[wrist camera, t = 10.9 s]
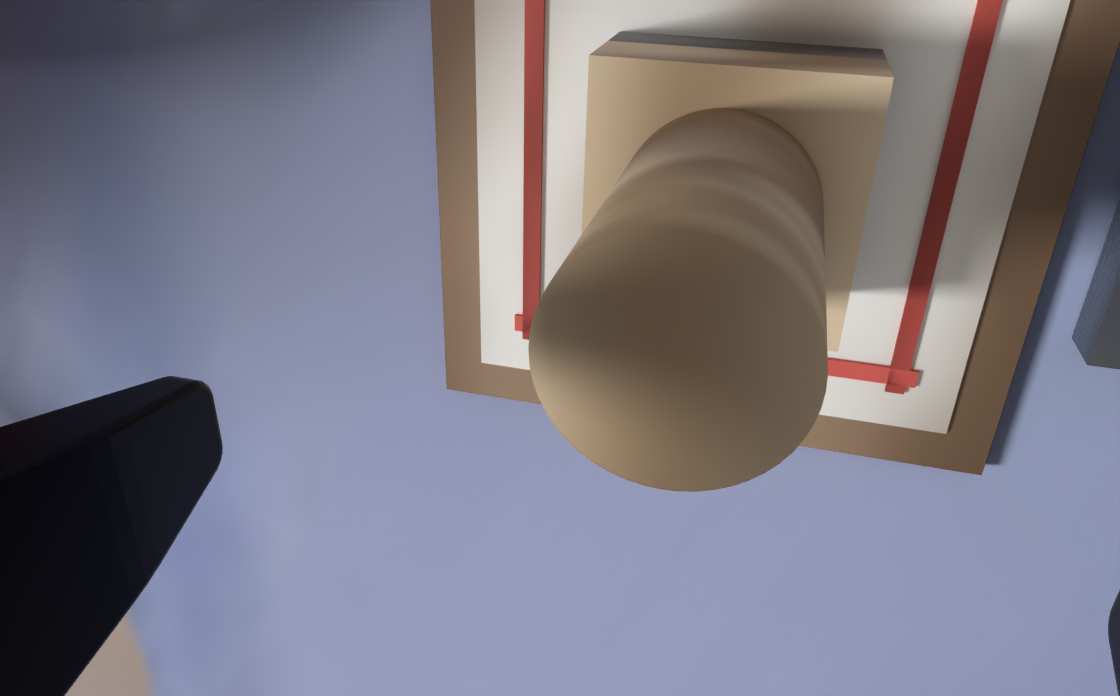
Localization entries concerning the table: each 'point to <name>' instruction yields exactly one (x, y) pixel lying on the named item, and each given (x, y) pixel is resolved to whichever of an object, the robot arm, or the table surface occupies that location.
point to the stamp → (709, 253)
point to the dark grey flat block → (1102, 307)
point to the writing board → (893, 210)
